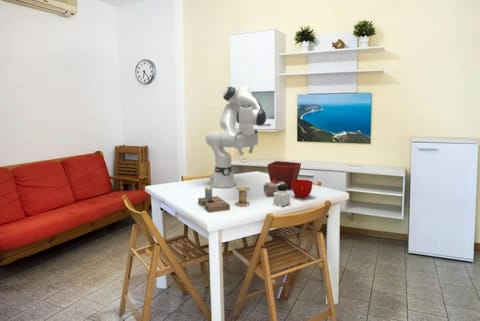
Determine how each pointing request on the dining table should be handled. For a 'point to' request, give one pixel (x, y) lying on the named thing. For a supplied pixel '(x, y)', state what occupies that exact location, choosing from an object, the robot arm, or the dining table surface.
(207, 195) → the gold lidded spice jar
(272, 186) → the food item
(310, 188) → the ceramic cup
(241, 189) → the tan spool
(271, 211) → the dining table surface
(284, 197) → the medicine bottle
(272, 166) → the plant pot
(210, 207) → the notch board
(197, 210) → the dining table surface
